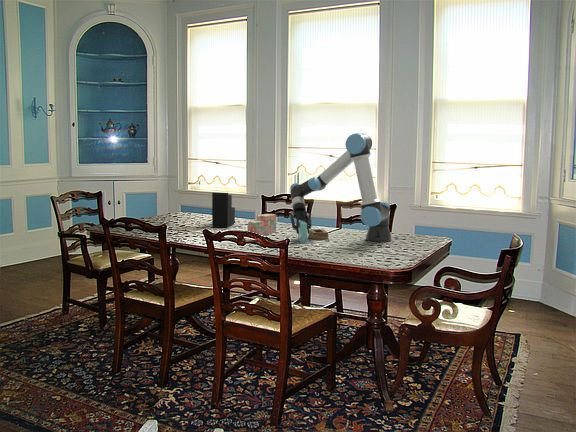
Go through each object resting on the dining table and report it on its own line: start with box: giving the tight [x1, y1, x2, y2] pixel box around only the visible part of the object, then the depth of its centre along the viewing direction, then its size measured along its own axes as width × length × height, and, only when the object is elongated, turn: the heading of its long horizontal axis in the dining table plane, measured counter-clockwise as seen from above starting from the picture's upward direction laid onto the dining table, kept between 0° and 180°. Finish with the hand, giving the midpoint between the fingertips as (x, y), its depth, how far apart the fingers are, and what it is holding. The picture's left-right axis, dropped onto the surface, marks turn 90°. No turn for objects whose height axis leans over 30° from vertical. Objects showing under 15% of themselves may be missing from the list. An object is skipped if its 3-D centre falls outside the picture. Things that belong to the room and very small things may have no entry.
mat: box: [289, 238, 316, 245], centre depth 342 cm, size 16×12×1 cm
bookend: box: [211, 192, 236, 229], centre depth 397 cm, size 23×11×24 cm, turn 172°
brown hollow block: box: [308, 228, 330, 241], centre depth 354 cm, size 13×10×4 cm
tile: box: [297, 221, 308, 243], centre depth 341 cm, size 8×4×11 cm, turn 10°
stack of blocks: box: [247, 213, 277, 237], centre depth 363 cm, size 21×6×12 cm, turn 145°
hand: (303, 237), depth 337 cm, fingers closed on tile, 3 cm apart
